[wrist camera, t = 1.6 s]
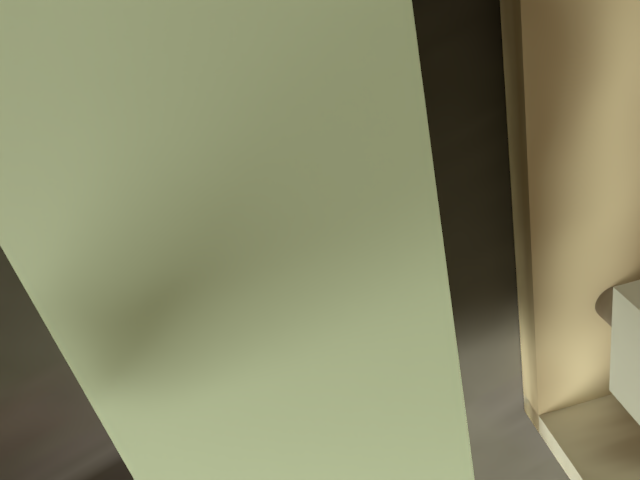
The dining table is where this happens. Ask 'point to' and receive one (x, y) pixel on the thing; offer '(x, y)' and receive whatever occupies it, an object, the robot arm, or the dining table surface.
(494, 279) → the dining table surface
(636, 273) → the shelf stand
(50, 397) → the dining table surface
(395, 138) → the shelf board
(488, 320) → the dining table surface
